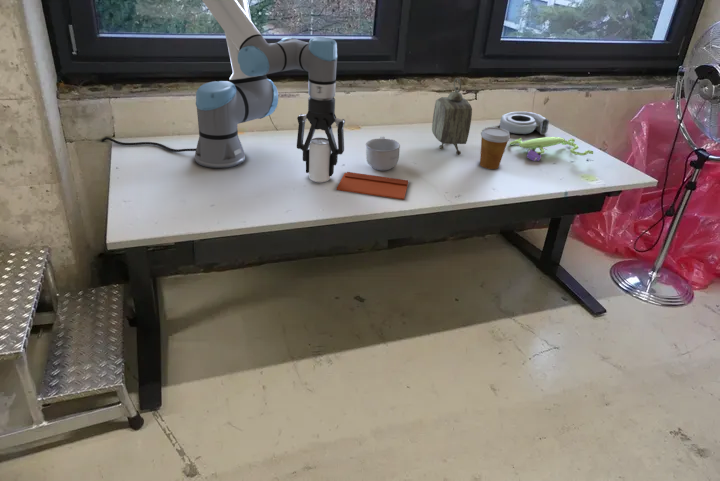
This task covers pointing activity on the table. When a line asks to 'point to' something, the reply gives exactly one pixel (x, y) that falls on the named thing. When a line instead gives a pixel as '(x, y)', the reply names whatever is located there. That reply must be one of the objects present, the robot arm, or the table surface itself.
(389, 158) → the teacup
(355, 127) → the table surface
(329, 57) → the robot arm
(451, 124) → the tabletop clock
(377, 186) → the orange envelope wallet
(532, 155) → the figurine
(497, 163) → the disposable coffee cup
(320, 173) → the can
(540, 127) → the turbocharger housing
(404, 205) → the table surface
